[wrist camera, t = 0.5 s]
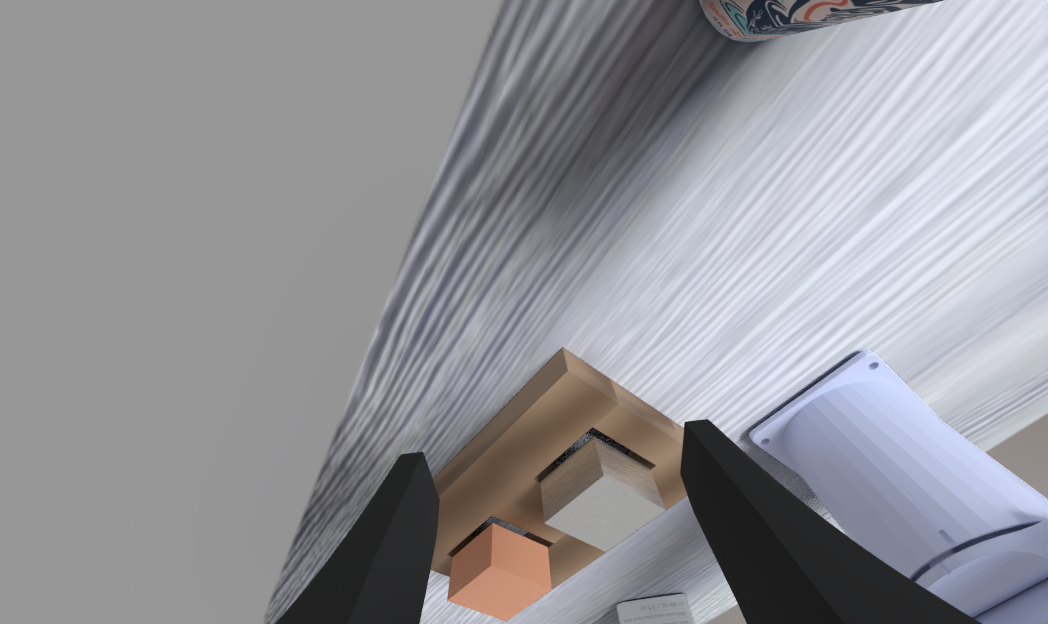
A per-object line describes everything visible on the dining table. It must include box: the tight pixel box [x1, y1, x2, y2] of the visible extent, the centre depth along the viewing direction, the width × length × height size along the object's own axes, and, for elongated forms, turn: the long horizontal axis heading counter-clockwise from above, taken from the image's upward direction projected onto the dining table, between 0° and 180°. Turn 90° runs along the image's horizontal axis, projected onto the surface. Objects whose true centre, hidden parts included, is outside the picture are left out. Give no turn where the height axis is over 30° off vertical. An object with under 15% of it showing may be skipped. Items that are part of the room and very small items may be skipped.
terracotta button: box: [447, 523, 552, 621], centre depth 24 cm, size 4×4×2 cm
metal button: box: [541, 436, 666, 552], centre depth 21 cm, size 4×4×2 cm
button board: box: [430, 348, 687, 606], centre depth 25 cm, size 12×18×2 cm, turn 142°
